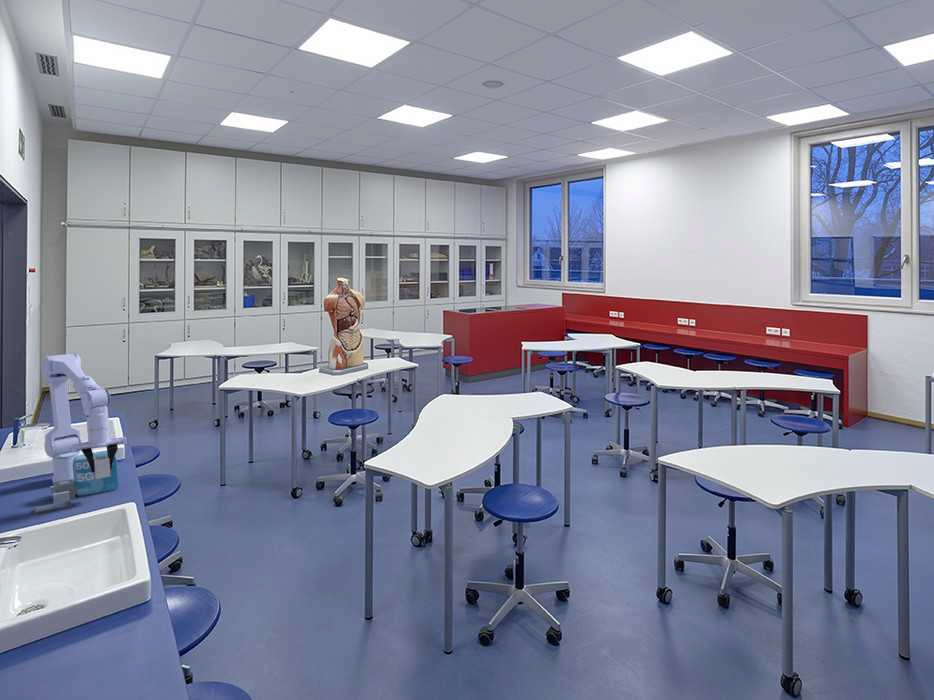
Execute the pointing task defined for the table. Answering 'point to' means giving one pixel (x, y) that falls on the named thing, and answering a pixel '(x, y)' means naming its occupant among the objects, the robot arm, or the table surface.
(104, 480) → the data package
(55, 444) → the robot arm
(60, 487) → the cube
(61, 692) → the table surface
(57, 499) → the socket rails
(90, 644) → the table surface
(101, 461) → the metal plug
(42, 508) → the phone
